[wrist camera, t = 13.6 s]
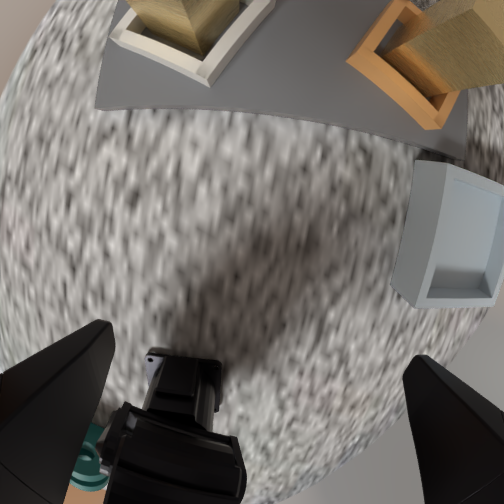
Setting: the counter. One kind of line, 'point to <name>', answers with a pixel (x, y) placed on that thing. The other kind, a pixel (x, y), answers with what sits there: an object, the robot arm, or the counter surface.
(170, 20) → the block
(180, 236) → the counter surface
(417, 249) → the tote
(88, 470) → the bracket
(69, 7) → the counter surface
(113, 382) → the counter surface
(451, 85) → the block
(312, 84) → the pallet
